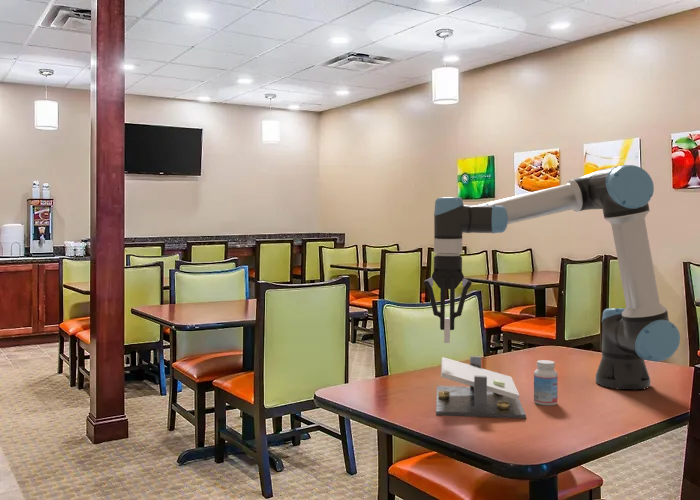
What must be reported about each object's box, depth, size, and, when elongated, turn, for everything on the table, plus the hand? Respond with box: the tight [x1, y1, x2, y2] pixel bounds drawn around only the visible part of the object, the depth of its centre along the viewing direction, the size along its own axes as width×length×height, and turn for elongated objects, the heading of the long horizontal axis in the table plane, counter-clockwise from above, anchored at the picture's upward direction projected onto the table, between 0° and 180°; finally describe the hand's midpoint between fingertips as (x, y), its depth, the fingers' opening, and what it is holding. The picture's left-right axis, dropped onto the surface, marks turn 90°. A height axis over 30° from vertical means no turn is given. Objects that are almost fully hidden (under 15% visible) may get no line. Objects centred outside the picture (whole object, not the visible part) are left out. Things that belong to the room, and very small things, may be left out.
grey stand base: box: [435, 355, 527, 419], centre depth 173 cm, size 22×26×10 cm
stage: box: [440, 356, 520, 400], centre depth 173 cm, size 20×22×2 cm
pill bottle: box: [533, 359, 559, 407], centre depth 172 cm, size 6×6×11 cm
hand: (447, 341), depth 173 cm, fingers closed
